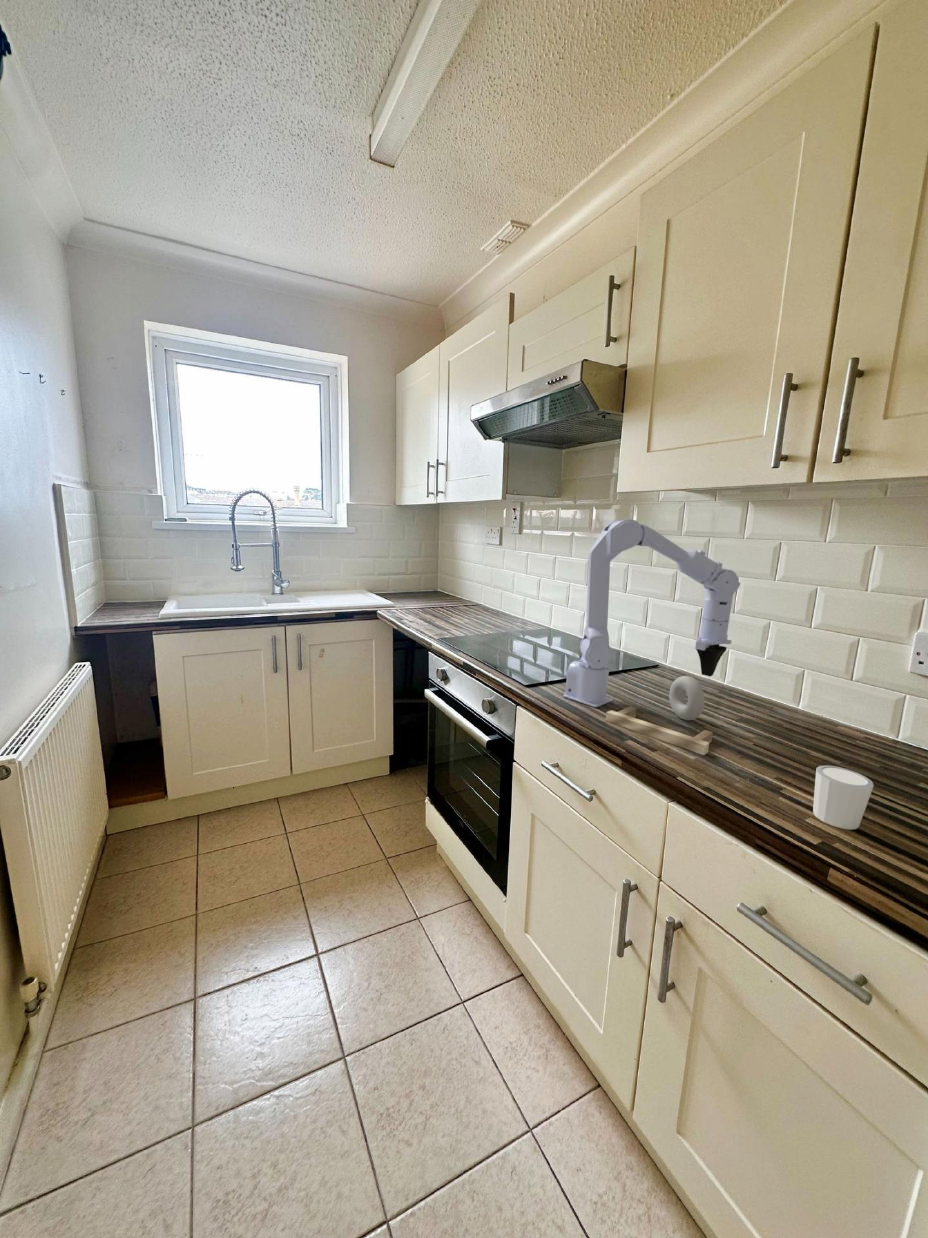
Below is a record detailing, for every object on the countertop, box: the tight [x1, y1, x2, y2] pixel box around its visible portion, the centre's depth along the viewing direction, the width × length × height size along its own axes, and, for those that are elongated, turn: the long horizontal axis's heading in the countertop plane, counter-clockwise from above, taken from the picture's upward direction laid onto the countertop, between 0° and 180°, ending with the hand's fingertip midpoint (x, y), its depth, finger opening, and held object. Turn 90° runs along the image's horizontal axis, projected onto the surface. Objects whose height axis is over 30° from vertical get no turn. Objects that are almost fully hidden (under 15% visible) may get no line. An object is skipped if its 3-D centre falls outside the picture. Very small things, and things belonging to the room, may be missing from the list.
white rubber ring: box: [668, 675, 706, 721], centre depth 111 cm, size 10×3×10 cm, turn 12°
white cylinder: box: [812, 765, 875, 831], centre depth 74 cm, size 7×7×7 cm
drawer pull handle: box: [605, 706, 714, 756], centre depth 103 cm, size 21×8×2 cm, turn 44°
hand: (707, 675), depth 118 cm, fingers closed
